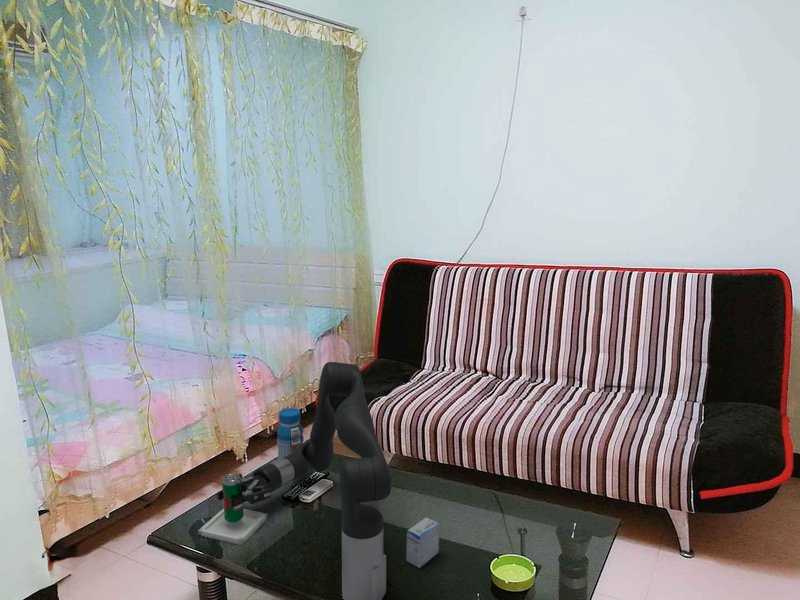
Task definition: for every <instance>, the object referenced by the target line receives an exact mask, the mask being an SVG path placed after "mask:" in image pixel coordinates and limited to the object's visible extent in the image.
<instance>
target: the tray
mask: <svg viewBox="0 0 800 600" xmlns="http://www.w3.org/2000/svg"><path fill="white" fill-rule="evenodd" d="M243 512H244V516H243V518H242V519H241V520H239V521H237V522H228V521H226V520H225V519H224V507H223V508H222V509H221V510H219V511H218V513H216V515H214V516H213V517H212V518H210V519H209V520H208V521H207V522H206V523H205V524H204V525H203V526H201V527H200V529H198V531H197V532H198V536H199V535H201V536H200V537H203V536H204V537H203V538H207V537H208V538H209V539H213V540H217V541H220V542H224V543H225V542H226V543H230V544H234V545H238V546H242V545H243V544H244V543H246V541H248V539H249V538H251V536H252V535H253V534H254V533H255V532H256V531H257V530H258V529H259V528H260V527H261V526H262V525H263V524H264V523H265V522H266V521H267V520H268V513H265V512H261V511H256V510H250V509H246V508H243ZM208 538H207V539H208Z"/></svg>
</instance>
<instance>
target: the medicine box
mask: <svg viewBox="0 0 800 600" xmlns="http://www.w3.org/2000/svg"><path fill="white" fill-rule="evenodd" d="M439 544H440V522H437V521H435V520H434V519H431V518H430V517H429V518H428V517H424V518H423V519H422V520H420V521H419V522H417V523H416V524H414V525H413V526H412V527H411V528H409V529H408V530H407V531H406V558H405V559H406V562H408V563H409V564H412V565H413V566H415V567H416V568H419V569H420V568H421V567H423V566H424V565H425V564H427V563H428V562H429V561H430V560H432V558H434V557H435V556H436V555H437V554H439V553H440V552H439V550H440V545H439Z"/></svg>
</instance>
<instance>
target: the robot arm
mask: <svg viewBox="0 0 800 600" xmlns="http://www.w3.org/2000/svg"><path fill="white" fill-rule="evenodd" d="M320 374H321V375H320V377H319V378H320V379H319V386H318V391H317V399H316V406H315V407H316V408H315V414H314V418H313V419H314V420H313V424H312V427H311V430H310V435H309V438H308V439H306V440H305V441H303V444H302V445H301V446H300V447H299V448H298V449H297V450H296V451H294V452H293V453H292V454H290V455H288V456H286V457H284V458H282V459H278V458H277V459H276V460H273V461H271V462H270V463H267V464H265V465H263V466H261V467H259V468H257V469H255V471H254V473H253V474H252V475H250V476H246V477H244V476H243V474H242V473H237V474H238V475H239V476H240V478H241V479H242V494H243V495H242V494H241V495H239V496H237V497H235V498H233V499H231V500H230V507H232V508H234V507H236V506H238V505H240V504H242V503H243V504H247V503H249V504H250V505H254V504H257V503H260V502H262V501H266V500H268V499H271V496H272V495H271V494H272V492H275V491H277V490H278V489H280V488H282V487H284V486H286V485H288V484H289V483H291V482H292V481H294V480H295V479H297V478H299V477H301V476H302V475H304V474H306V472H307V470H308V465H309V466H310V467H311V468H312V469H313V470H314V471H316V472H321V473H322V472H324V471H326V470H327V469H329V467H330V466H331V464H332V462H333V460H334V453H335V452H334V437H335V434H337V437H338V439H339V441H340V442H341V443H342V444H344V446H345V447H346V448H347V449H349V450H350V451H352V452H353V453H355V454H356V455H358V456H359V457H357V458H349V459H344V460H343V461H342V463H341V465H340V469H339V484H340V485H339V486H340V499H341V591H342V593H341V597H342V596H343V597H342V600H343V599H344V600H383V598H384V596H385V595H386V593H387V555H386V554H384V515H383V514H382V512H381V511H380V510H379V509H377V508H376V507H374V506H371V505H368V504H366V503H368V502H375V501H376V502H377V501H382V500H384V499H387V498H388V497H389V496H390V494H391V492H392V477H391V472H390V468H389V464H388V462H387V459H386V457H385V455H384V452H383V450H382V448H381V446H380V443H379V440H378V436H377V432H376V428H375V425H374V421H373V417H372V413H371V411H370V408H369V406H368V405H369V404H368V403H367V402H368V401H367V399H366V395H365V394H366V393H365V390H364V389H365V388H364V382H363V376H362V372H361V370H360V367H359V366H358V365H356V364H353V363H346V362H337V361H328V362H326V363H324V366H323V367H322V370H321V373H320ZM329 396H337V397H345V399H344V400H343V401H342V402H341V403H340V404H339V405H338V407H337V408H336V411H335V410H334V408H333V407H332V405H331V402H330V397H329ZM256 497H257V498H256ZM216 500H218V501H223V490H219V491H218V492H217V493H216ZM364 503H365V504H364Z"/></svg>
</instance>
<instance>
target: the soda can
mask: <svg viewBox="0 0 800 600" xmlns="http://www.w3.org/2000/svg"><path fill="white" fill-rule="evenodd" d="M238 474H239V473H228V474H226V475H224V477H223V478H222V479H223V480H222V481H221V488H222V490H223V499H222V505H223V508H224V519H225V520H226V521H228V522H237V521H239V520H241V519H242V518H243V516H244V512H243V509H244V503H242V504H240V505H238V506H236V507H234V508H232V507H230V500H231V499H233V498H235V497H237V496H239V495H241V494H242V495H243V493H242V479H241V478H240V476H239V475H238Z"/></svg>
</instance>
